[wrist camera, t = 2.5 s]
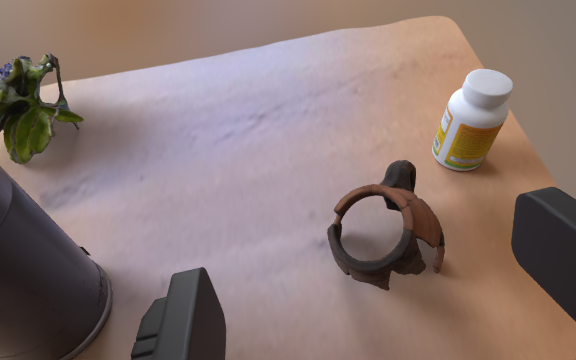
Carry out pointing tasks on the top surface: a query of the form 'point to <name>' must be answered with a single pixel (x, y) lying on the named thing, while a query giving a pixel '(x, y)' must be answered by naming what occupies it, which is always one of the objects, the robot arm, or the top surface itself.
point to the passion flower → (29, 107)
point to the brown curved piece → (416, 225)
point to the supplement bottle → (472, 120)
